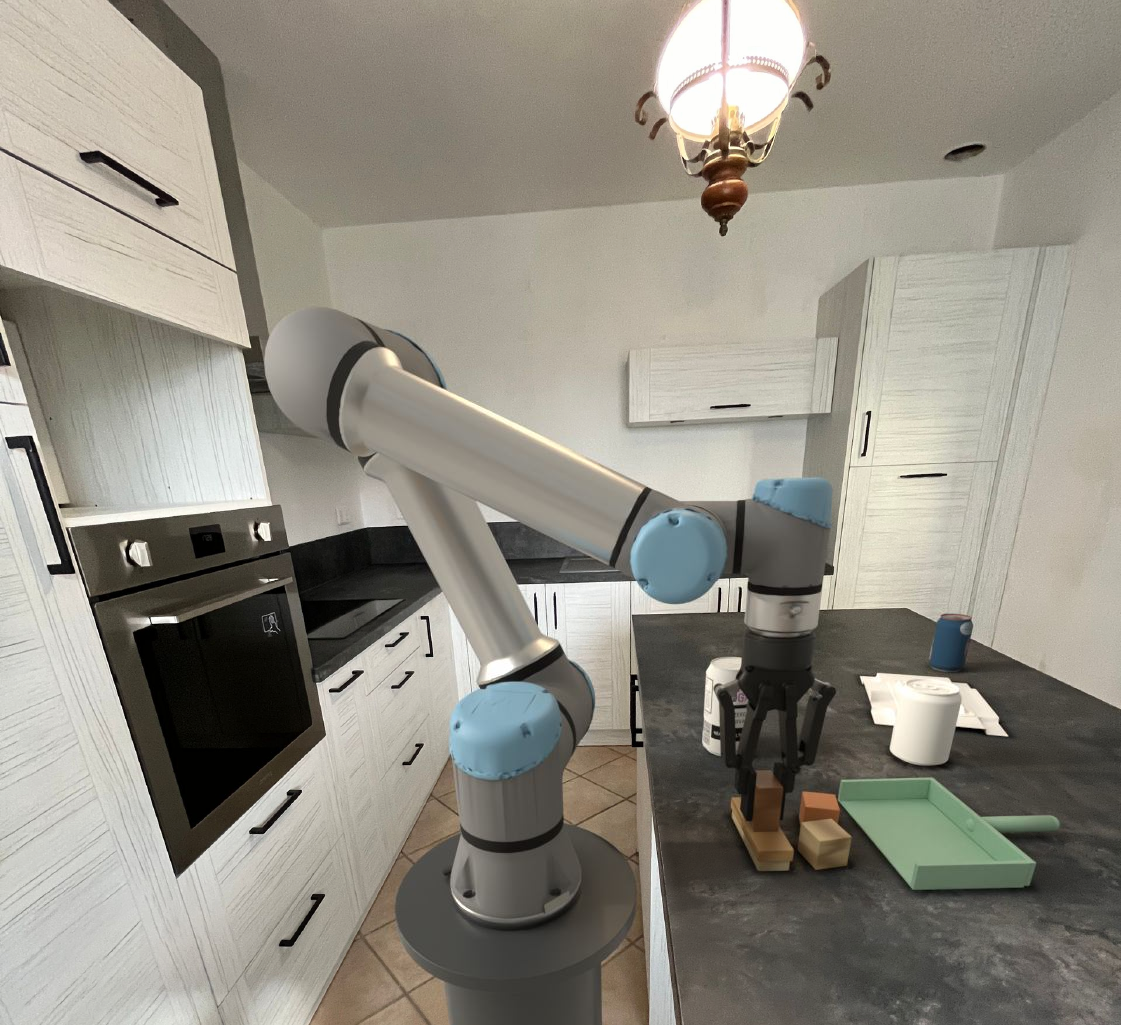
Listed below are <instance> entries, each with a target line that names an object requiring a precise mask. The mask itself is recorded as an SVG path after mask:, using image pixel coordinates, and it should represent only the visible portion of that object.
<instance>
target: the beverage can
mask: <svg viewBox="0 0 1121 1025" xmlns="http://www.w3.org/2000/svg"><path fill="white" fill-rule="evenodd" d="M959 692H960V689H959V687H957V686H956V685H954V684H951V683H948V682H945V681H940V680H935V679H911V680H908V681H906V683H905V686H903V687H902V689H901V690H900V695H899V700H898V706H897V711H896V716H895V722H894V726H893V728H892V733H891V739H890V744H889V751H890V752H891V754H892V755H893V756H894V757H896V758H898V759H899V760H902V761H903V762H906V763H909V764H911V765H917V766H923V767H924V766H925V767H926V766H928V767H929V766H938V765H943V764H945V763H946V762H948V761H949V757H950V753H951V749H952V744H953V740H954V736H955V731H956V727H957V726H956V723H957V719H958V714H959V710H960V706H961V701H962V697H961V695H960V693H959Z"/></svg>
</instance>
